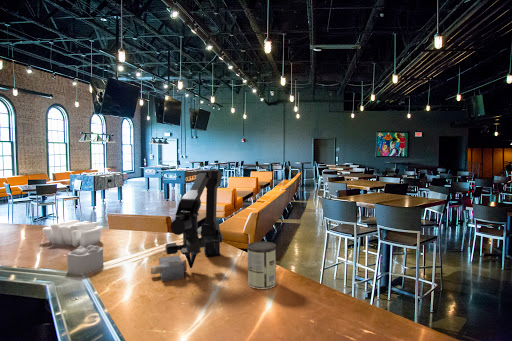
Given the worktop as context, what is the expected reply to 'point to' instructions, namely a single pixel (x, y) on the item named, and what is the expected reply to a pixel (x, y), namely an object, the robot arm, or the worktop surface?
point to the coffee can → (261, 265)
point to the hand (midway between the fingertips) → (190, 267)
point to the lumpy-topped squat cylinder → (85, 259)
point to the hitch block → (171, 268)
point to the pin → (158, 268)
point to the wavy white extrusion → (74, 233)
